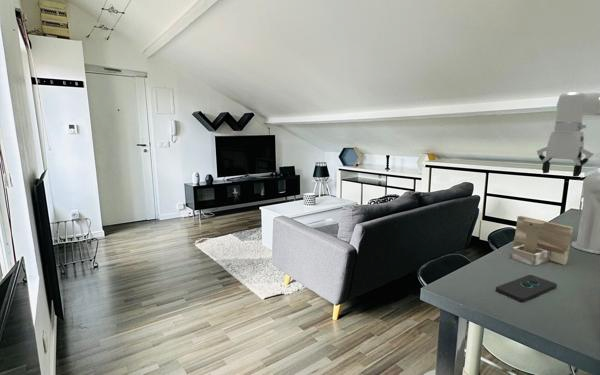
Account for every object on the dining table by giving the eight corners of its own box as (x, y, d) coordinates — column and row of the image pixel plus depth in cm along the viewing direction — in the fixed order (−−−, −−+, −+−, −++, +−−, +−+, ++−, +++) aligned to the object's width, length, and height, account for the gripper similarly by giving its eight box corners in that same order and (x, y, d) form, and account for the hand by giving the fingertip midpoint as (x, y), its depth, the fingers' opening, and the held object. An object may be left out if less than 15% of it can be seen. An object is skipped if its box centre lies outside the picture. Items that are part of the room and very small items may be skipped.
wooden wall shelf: (516, 248, 138) (520, 215, 135) (567, 263, 122) (573, 227, 120) (497, 253, 131) (501, 219, 129) (548, 270, 116) (554, 232, 114)
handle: (536, 263, 122) (541, 224, 119) (516, 258, 127) (521, 220, 125) (540, 260, 125) (546, 222, 122) (521, 255, 130) (526, 218, 127)
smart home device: (558, 283, 104) (523, 298, 94) (557, 289, 104) (522, 304, 94) (529, 273, 111) (494, 286, 101) (529, 278, 111) (493, 292, 101)
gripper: (602, 128, 115) (593, 177, 118) (546, 127, 130) (539, 171, 133) (592, 127, 111) (584, 178, 114) (535, 127, 126) (529, 172, 129)
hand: (560, 174), depth 123 cm, fingers open, 9 cm apart
